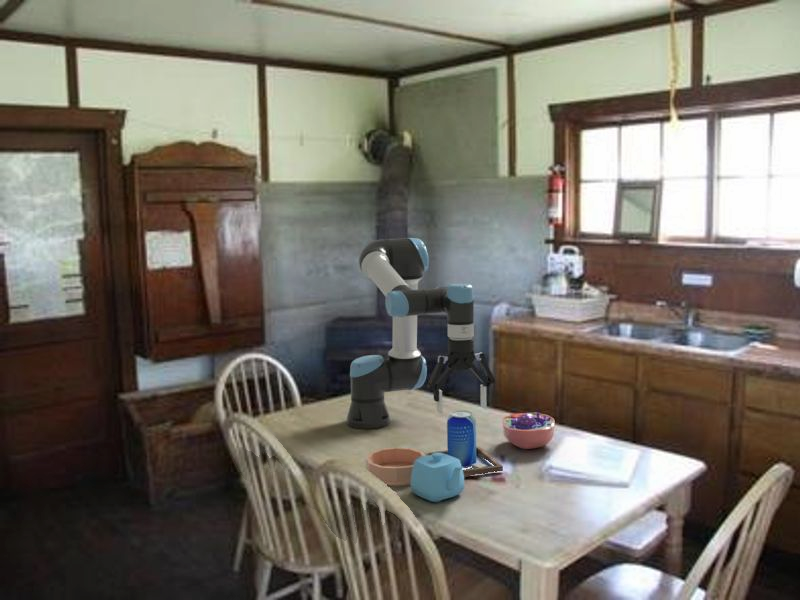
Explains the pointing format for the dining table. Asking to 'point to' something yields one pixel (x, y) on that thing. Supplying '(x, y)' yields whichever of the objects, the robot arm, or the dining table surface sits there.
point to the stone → (478, 465)
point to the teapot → (437, 477)
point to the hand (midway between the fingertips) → (461, 409)
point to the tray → (474, 471)
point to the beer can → (462, 437)
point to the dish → (393, 465)
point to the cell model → (528, 429)
